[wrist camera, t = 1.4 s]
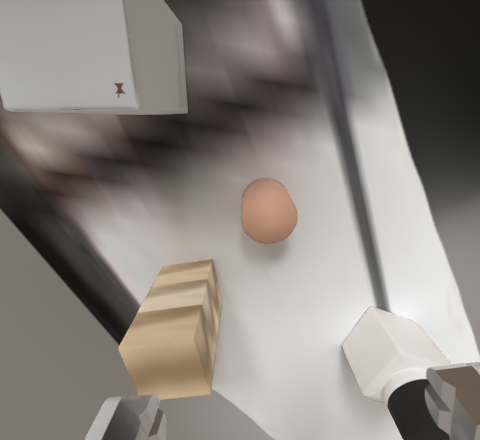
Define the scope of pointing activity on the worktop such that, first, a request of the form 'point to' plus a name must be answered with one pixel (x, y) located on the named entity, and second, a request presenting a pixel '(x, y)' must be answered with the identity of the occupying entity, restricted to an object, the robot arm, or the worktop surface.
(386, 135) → the worktop surface
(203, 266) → the tower base
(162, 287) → the tower mid
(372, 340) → the medicine bottle
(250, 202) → the pink rounded cylinder
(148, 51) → the supplement box
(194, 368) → the tower top
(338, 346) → the worktop surface
